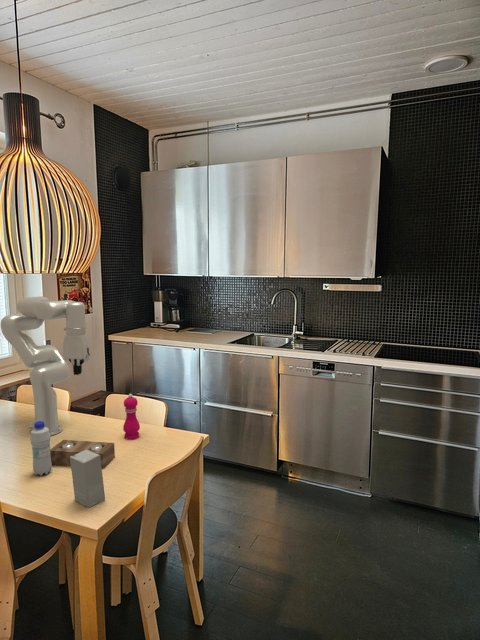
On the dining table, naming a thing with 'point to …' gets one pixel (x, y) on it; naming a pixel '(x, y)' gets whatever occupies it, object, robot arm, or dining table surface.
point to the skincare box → (87, 478)
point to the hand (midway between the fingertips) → (77, 374)
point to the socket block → (63, 455)
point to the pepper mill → (131, 418)
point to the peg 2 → (96, 447)
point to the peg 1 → (67, 445)
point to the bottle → (41, 449)
